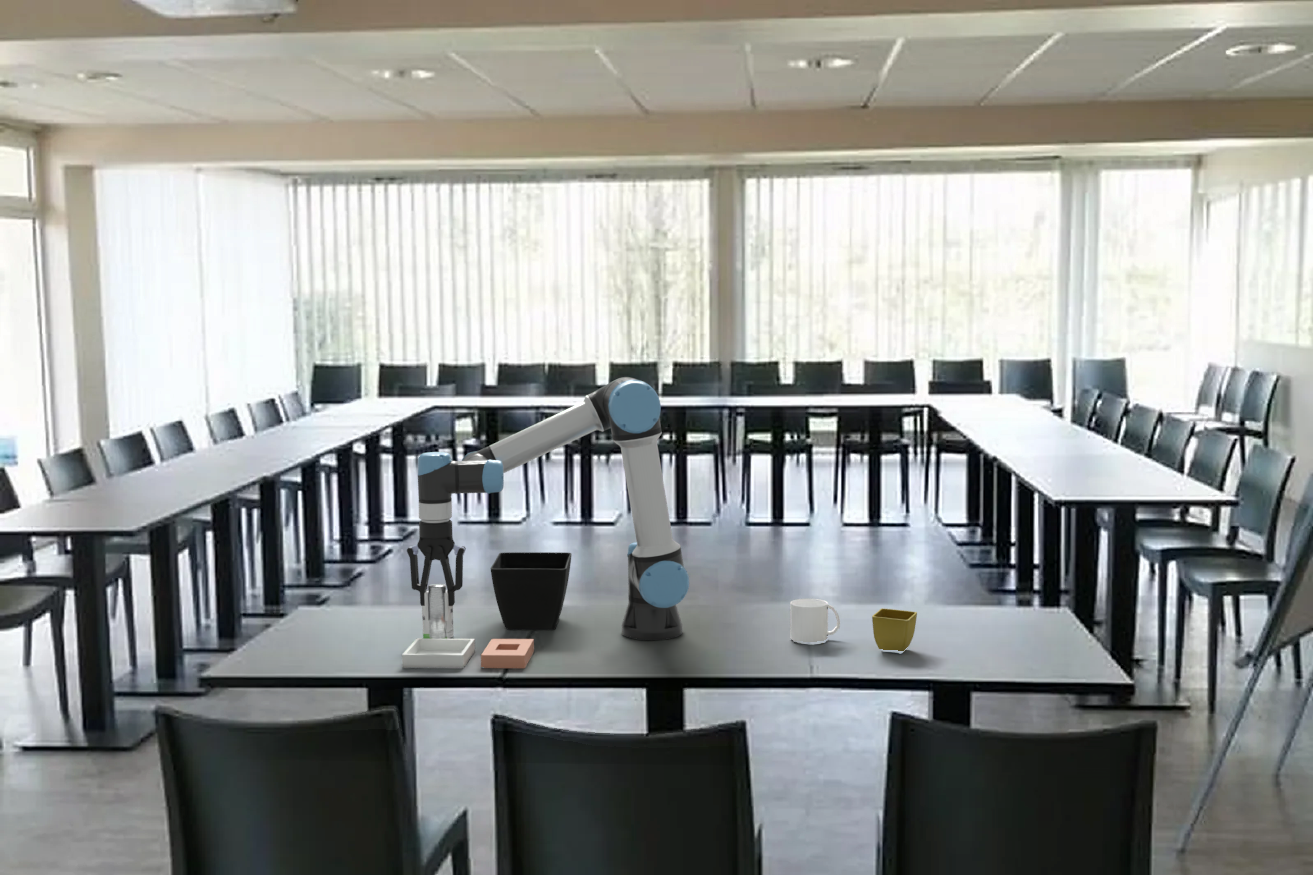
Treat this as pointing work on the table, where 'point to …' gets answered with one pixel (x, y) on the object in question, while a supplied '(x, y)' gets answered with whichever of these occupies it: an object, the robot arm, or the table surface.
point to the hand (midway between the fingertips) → (437, 619)
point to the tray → (438, 653)
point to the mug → (810, 620)
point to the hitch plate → (507, 653)
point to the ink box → (426, 625)
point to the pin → (437, 611)
